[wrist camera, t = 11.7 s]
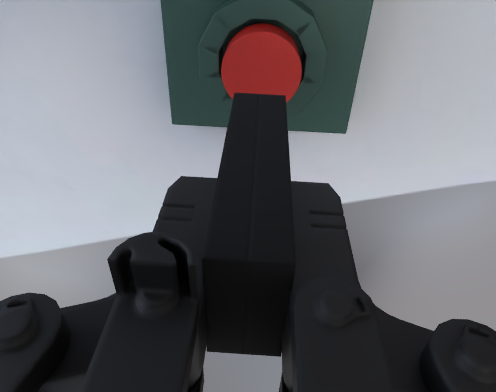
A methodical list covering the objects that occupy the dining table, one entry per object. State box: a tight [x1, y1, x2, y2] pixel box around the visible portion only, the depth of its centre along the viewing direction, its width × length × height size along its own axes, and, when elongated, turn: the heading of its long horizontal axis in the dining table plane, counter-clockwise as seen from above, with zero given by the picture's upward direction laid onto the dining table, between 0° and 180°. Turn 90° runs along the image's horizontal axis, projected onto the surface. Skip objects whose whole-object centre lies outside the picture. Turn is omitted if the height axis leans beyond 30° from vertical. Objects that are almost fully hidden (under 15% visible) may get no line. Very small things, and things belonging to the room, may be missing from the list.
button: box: [221, 23, 302, 102], centre depth 22 cm, size 4×4×2 cm
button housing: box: [161, 0, 373, 134], centre depth 24 cm, size 12×10×4 cm
